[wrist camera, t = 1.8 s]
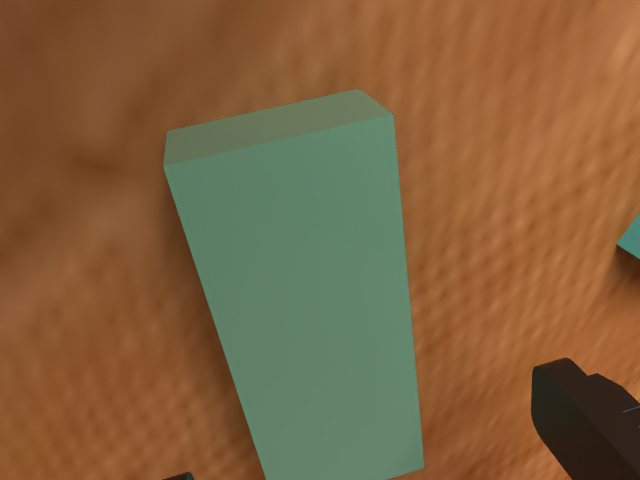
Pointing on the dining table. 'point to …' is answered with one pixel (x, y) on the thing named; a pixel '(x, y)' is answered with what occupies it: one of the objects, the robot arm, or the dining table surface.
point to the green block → (307, 281)
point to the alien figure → (632, 238)
